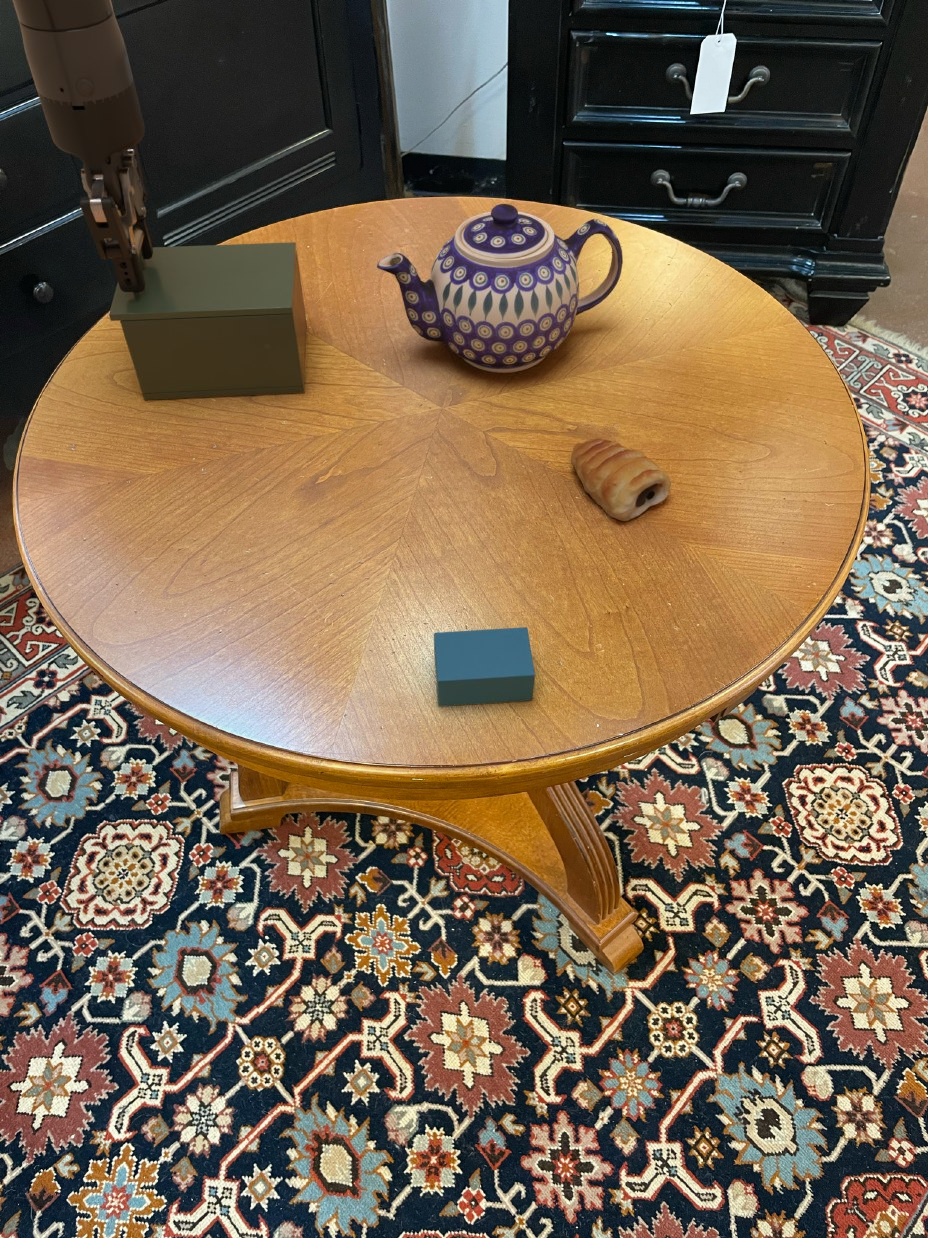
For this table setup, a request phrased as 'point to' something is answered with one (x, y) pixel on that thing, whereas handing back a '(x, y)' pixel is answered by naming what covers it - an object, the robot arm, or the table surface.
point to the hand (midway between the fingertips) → (137, 272)
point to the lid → (210, 281)
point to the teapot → (502, 288)
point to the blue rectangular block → (483, 666)
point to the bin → (220, 353)
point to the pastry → (619, 477)
